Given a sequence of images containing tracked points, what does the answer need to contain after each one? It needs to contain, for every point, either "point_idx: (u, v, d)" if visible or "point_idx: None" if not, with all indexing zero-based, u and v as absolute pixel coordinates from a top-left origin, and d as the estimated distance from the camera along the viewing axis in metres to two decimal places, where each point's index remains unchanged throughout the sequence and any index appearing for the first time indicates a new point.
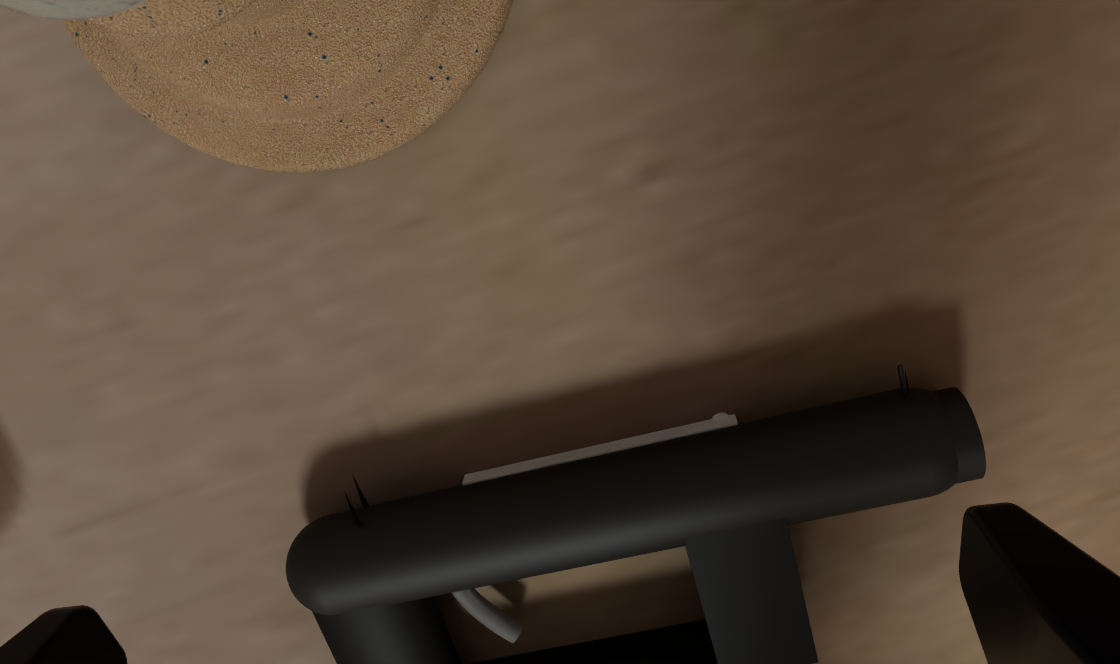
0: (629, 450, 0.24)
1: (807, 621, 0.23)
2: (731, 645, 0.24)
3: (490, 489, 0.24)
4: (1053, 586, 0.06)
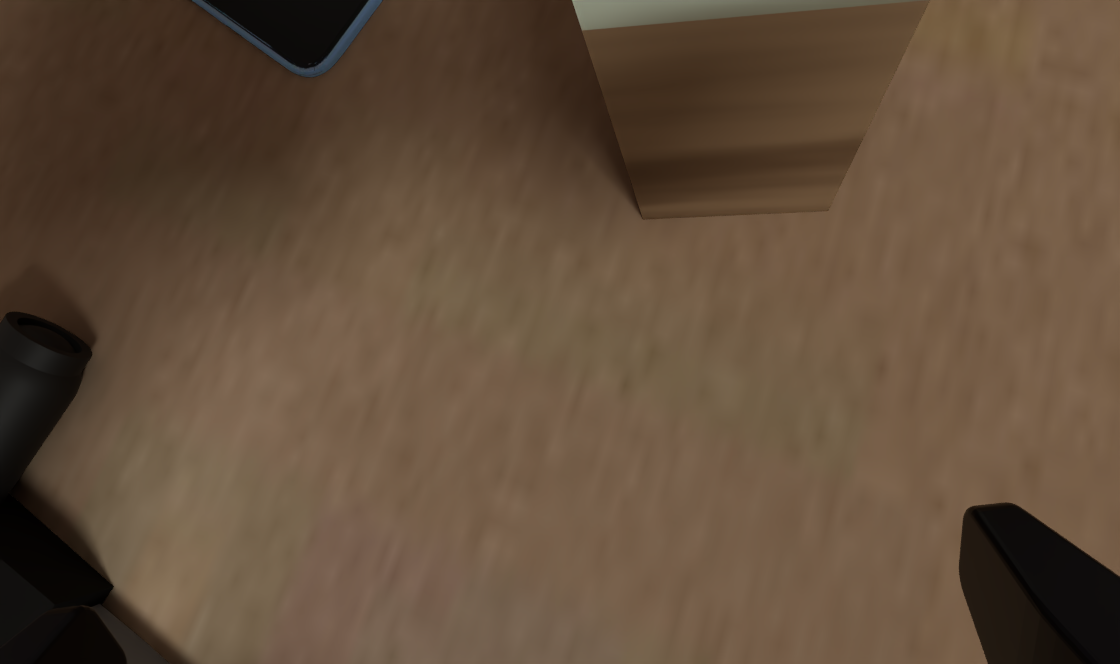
0: None
1: (13, 572, 0.23)
2: None
3: None
4: (1053, 586, 0.06)
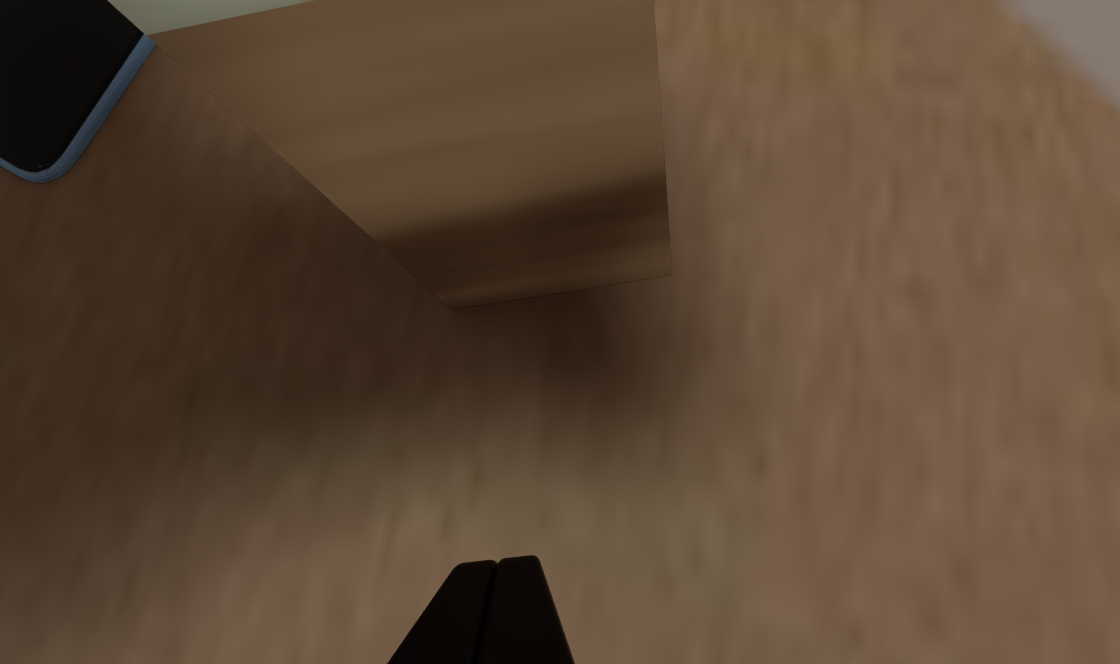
0: None
1: None
2: None
3: None
4: (500, 641, 0.07)
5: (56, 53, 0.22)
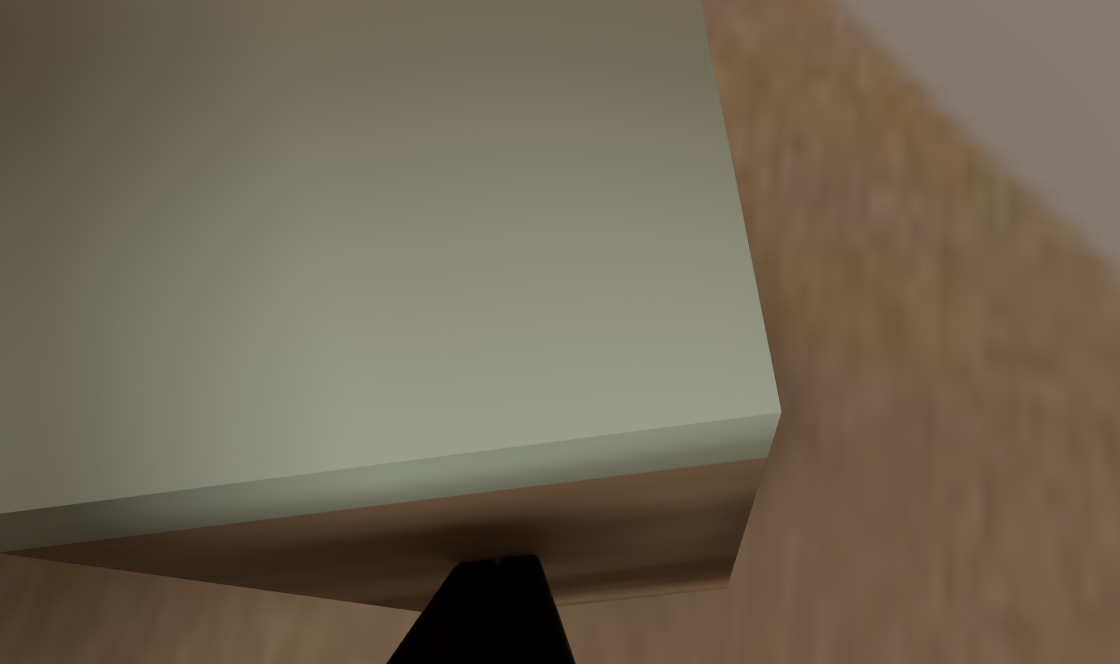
0: None
1: None
2: None
3: None
4: (501, 641, 0.07)
5: None
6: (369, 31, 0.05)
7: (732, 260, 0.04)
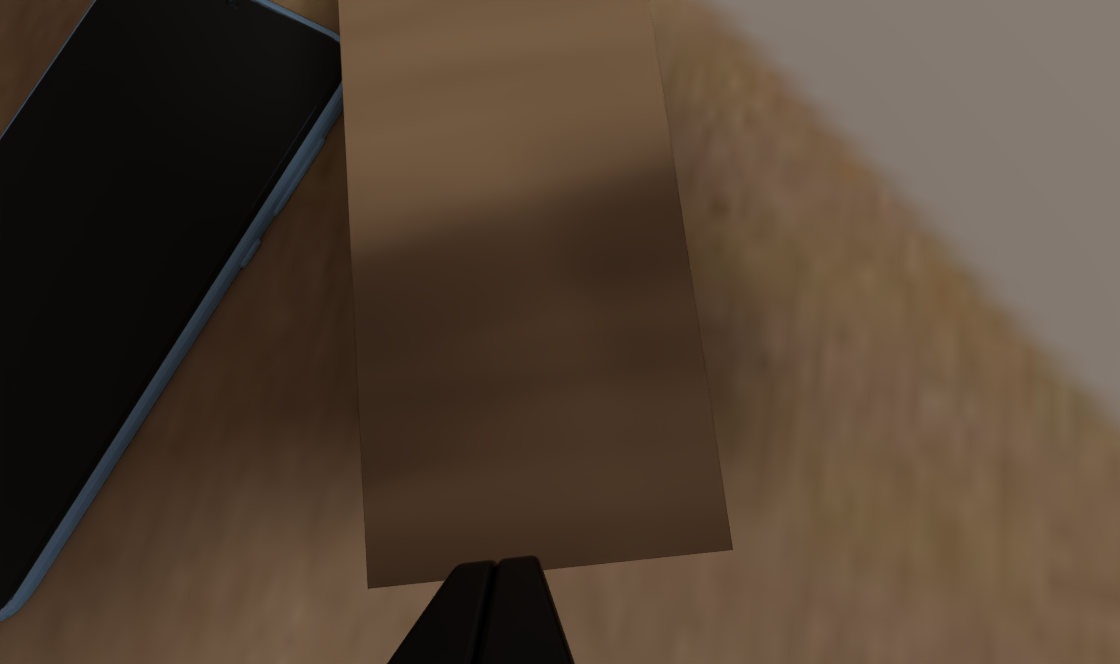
0: None
1: None
2: None
3: None
4: (500, 641, 0.07)
5: (7, 455, 0.18)
6: None
7: None
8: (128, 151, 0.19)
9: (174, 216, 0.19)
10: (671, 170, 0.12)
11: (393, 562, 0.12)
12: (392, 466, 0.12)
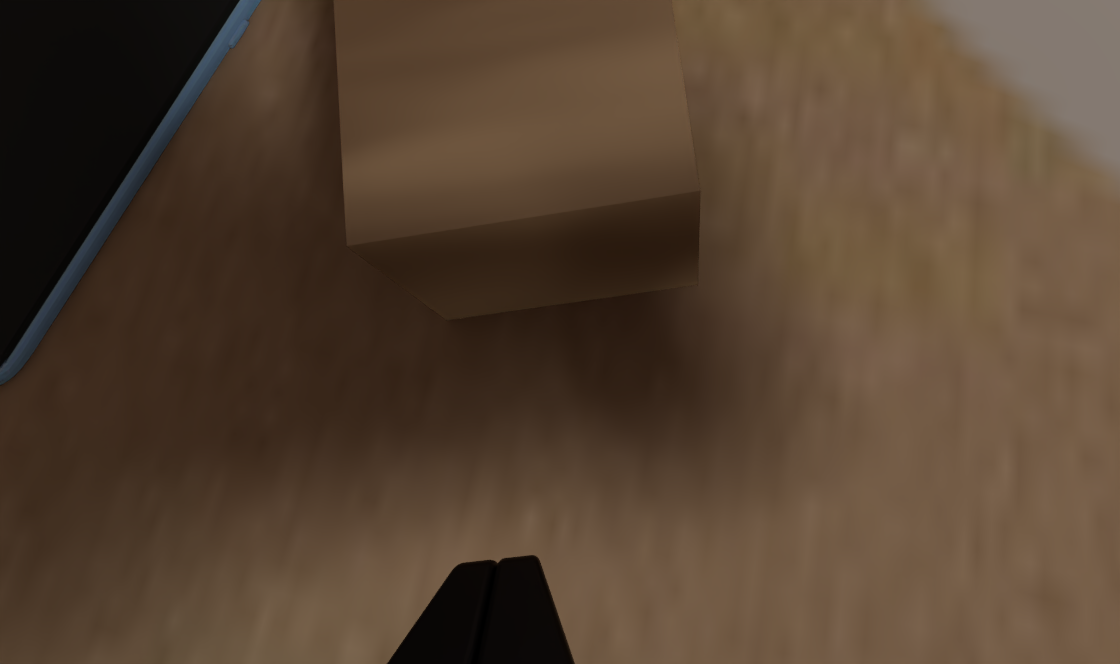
0: None
1: None
2: None
3: None
4: (500, 641, 0.07)
5: (1, 228, 0.18)
6: None
7: None
8: None
9: None
10: None
11: (371, 221, 0.12)
12: (370, 135, 0.12)
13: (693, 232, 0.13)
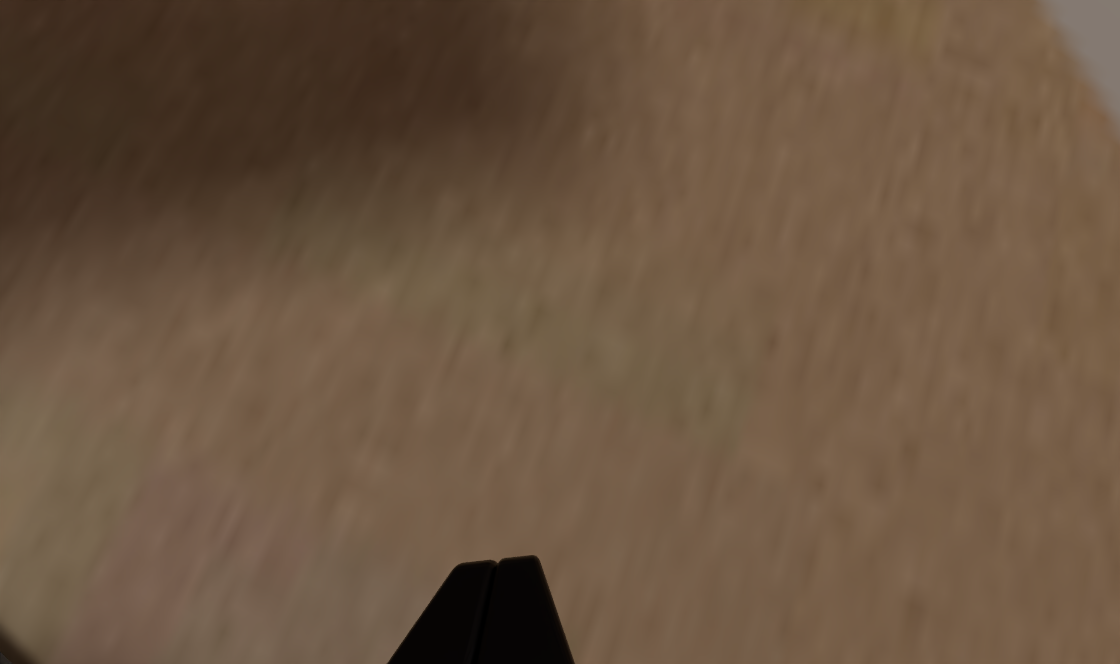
0: None
1: None
2: None
3: None
4: (500, 641, 0.07)
5: None
6: None
7: None
8: None
9: None
10: None
11: None
12: None
13: None
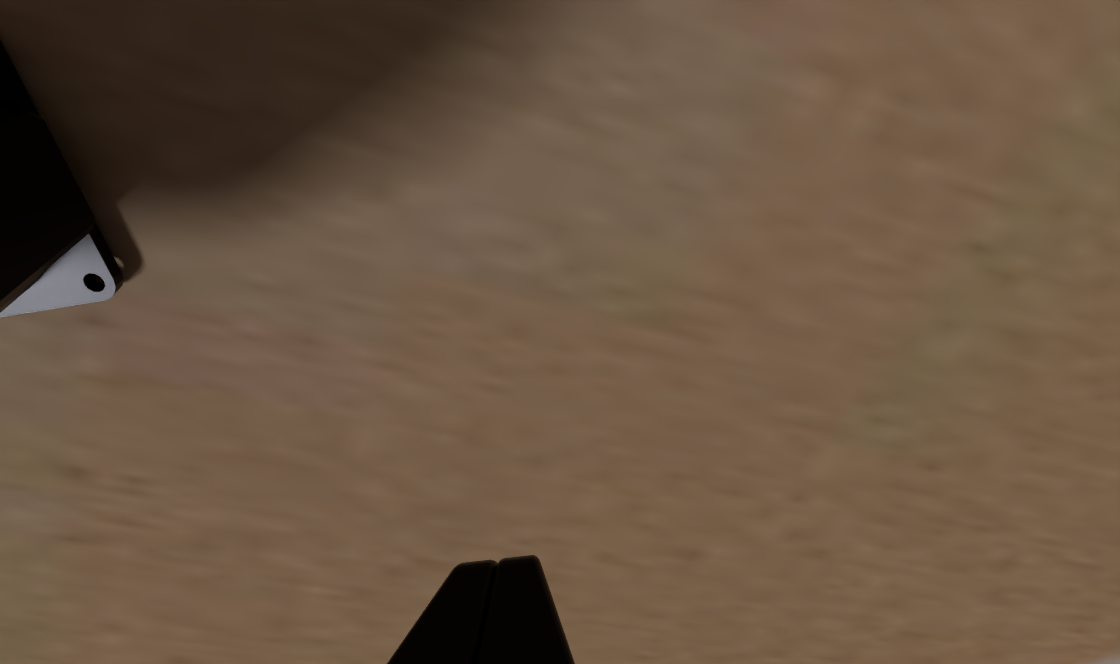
0: None
1: None
2: None
3: None
4: (500, 641, 0.07)
5: None
6: None
7: None
8: None
9: None
10: None
11: None
12: None
13: None
